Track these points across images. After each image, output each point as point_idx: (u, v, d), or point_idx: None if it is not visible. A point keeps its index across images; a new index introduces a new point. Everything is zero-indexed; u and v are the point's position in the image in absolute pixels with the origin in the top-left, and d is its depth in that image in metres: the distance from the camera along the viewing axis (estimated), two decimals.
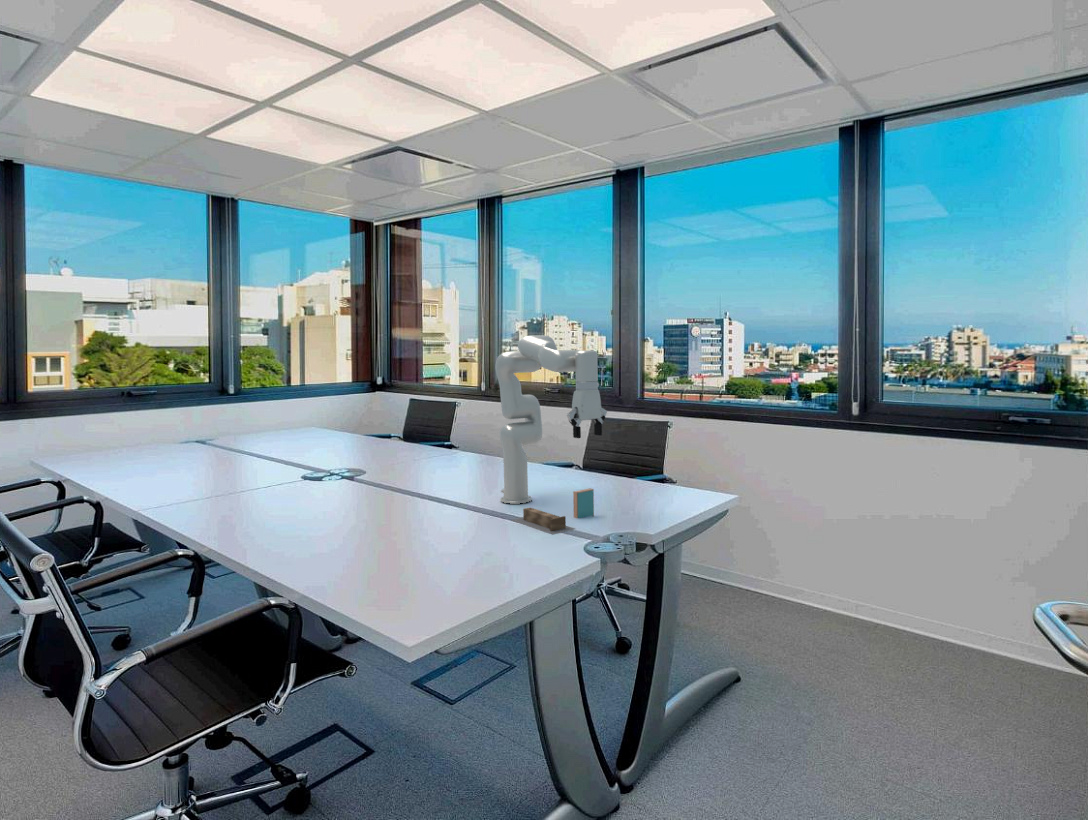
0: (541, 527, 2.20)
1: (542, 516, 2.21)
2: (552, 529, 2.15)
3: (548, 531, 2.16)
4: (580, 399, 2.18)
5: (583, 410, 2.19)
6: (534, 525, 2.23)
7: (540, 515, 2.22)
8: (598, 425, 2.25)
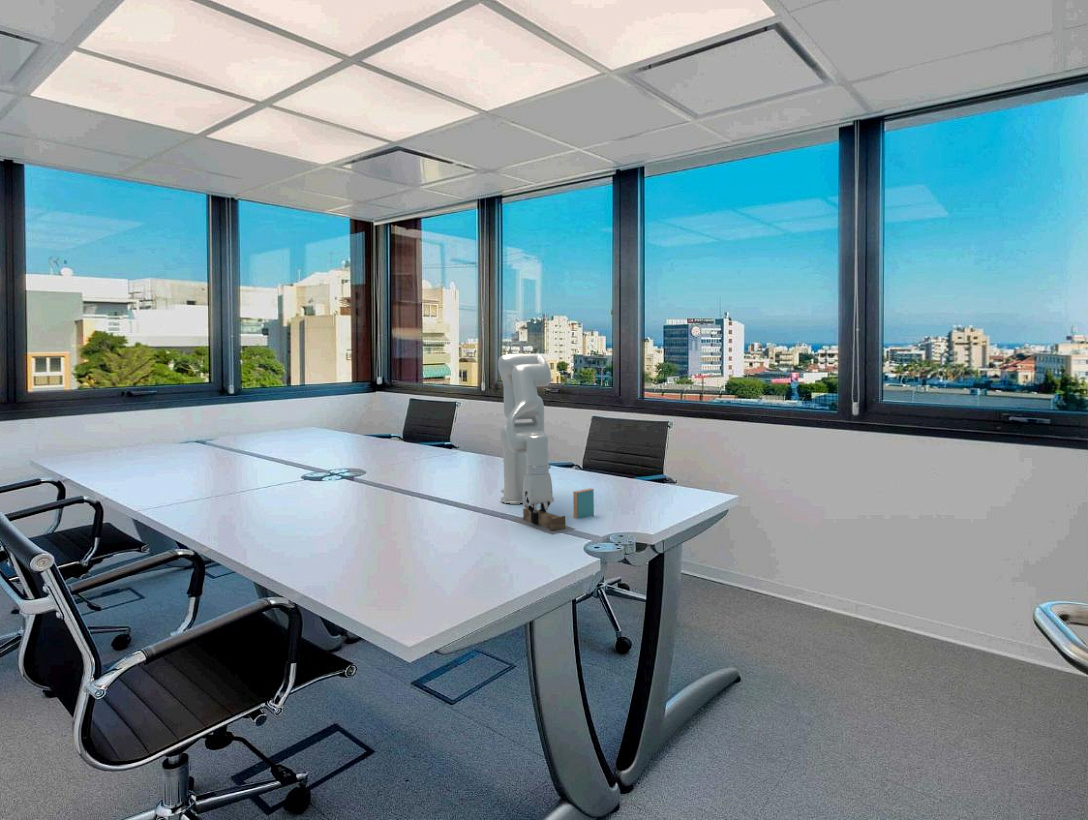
0: (541, 527, 2.20)
1: (542, 516, 2.21)
2: (552, 529, 2.15)
3: (548, 531, 2.16)
4: (530, 484, 2.20)
5: (533, 494, 2.20)
6: (534, 525, 2.23)
7: (540, 515, 2.22)
8: None
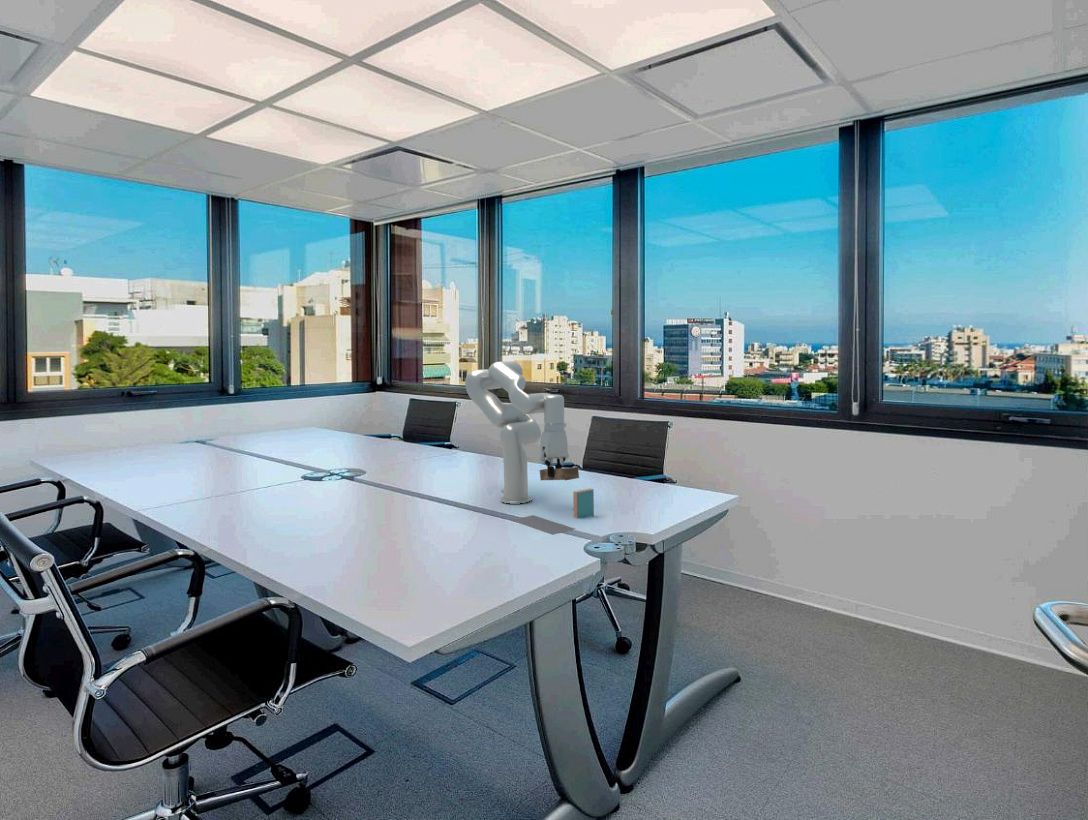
0: (541, 527, 2.20)
1: (557, 470, 2.41)
2: (567, 478, 2.35)
3: (548, 531, 2.16)
4: (547, 440, 2.40)
5: (550, 449, 2.40)
6: (534, 525, 2.23)
7: (555, 470, 2.42)
8: (558, 466, 2.45)
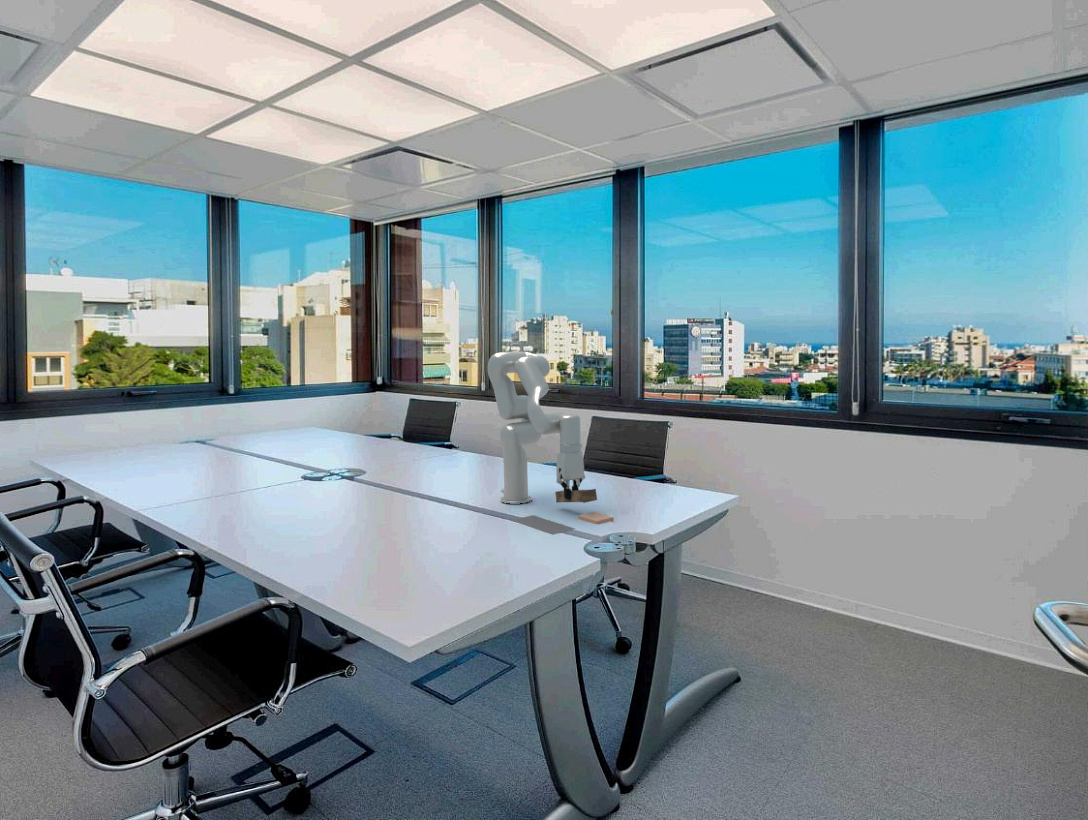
0: (541, 527, 2.20)
1: (574, 492, 2.35)
2: (585, 500, 2.29)
3: (548, 531, 2.16)
4: (564, 461, 2.34)
5: (566, 471, 2.34)
6: (534, 525, 2.23)
7: (572, 492, 2.36)
8: (575, 488, 2.39)
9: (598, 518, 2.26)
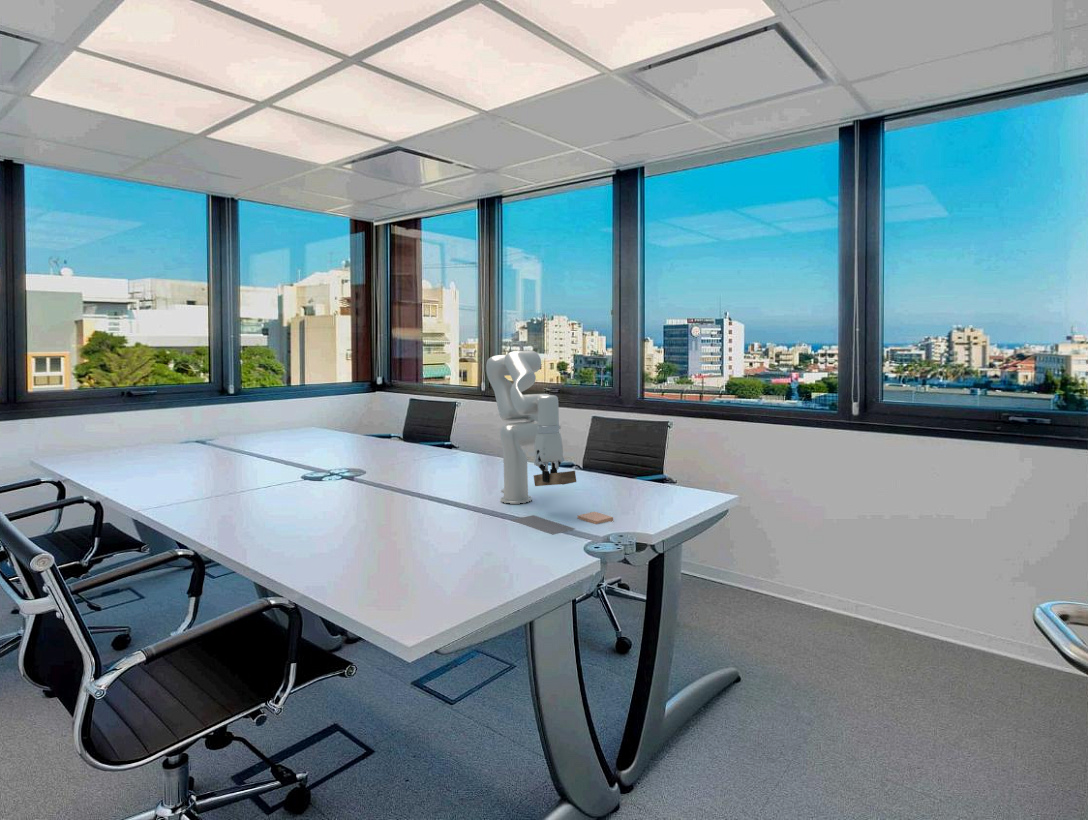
0: (541, 527, 2.20)
1: (552, 475, 2.29)
2: (564, 482, 2.23)
3: (548, 531, 2.16)
4: (542, 442, 2.27)
5: (545, 453, 2.28)
6: (534, 525, 2.23)
7: (550, 474, 2.30)
8: (554, 471, 2.33)
9: (598, 518, 2.26)
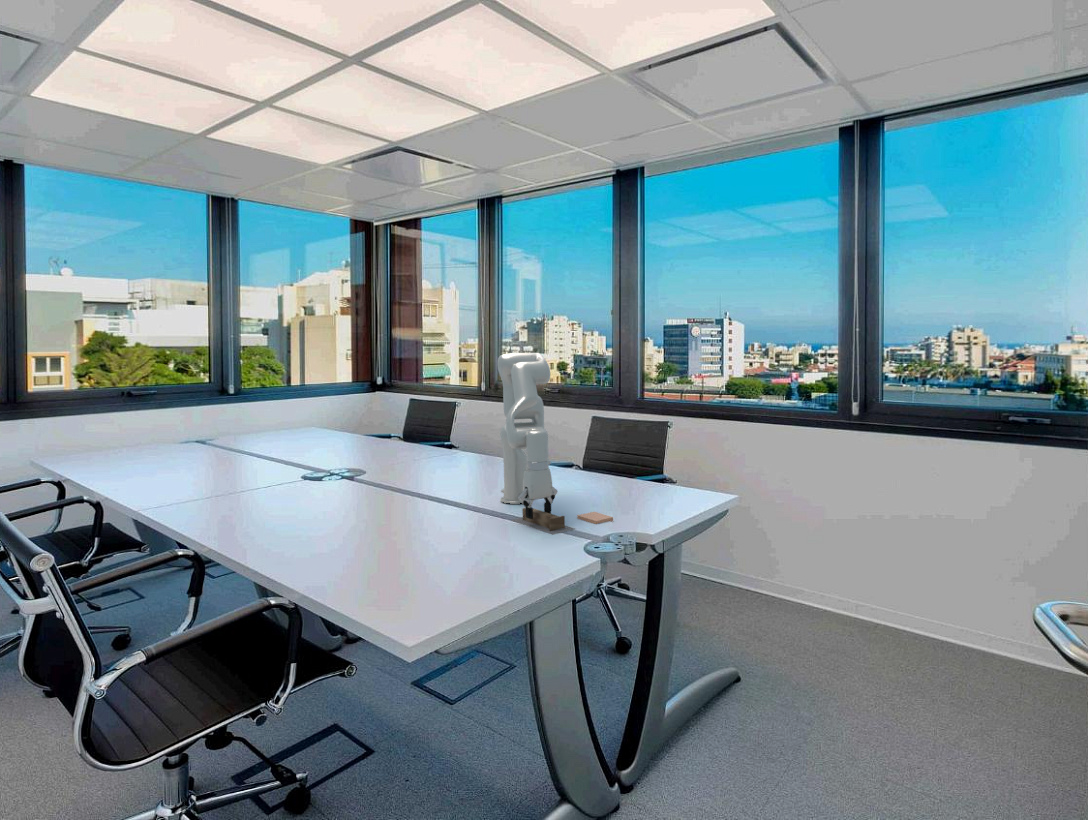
0: (541, 527, 2.20)
1: (541, 516, 2.21)
2: (551, 529, 2.16)
3: (548, 531, 2.16)
4: (530, 479, 2.20)
5: (533, 490, 2.20)
6: (534, 525, 2.23)
7: (539, 515, 2.22)
8: (547, 505, 2.26)
9: (597, 518, 2.26)
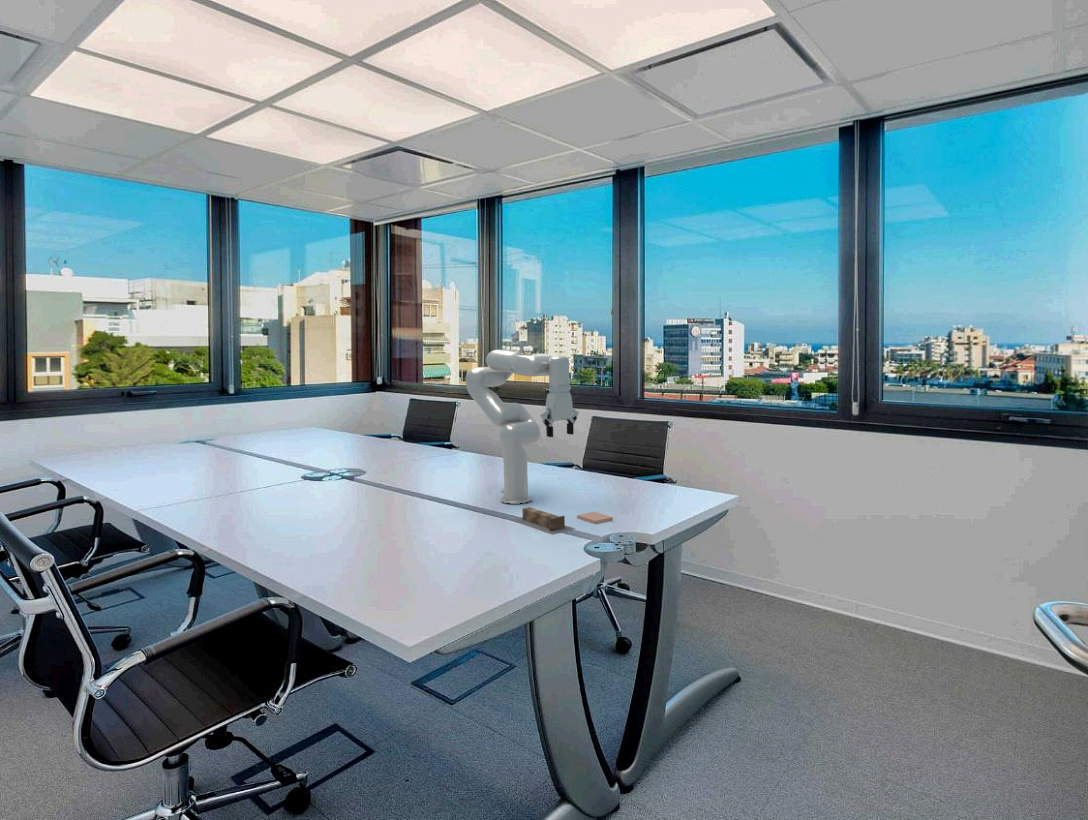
0: (541, 527, 2.20)
1: (541, 516, 2.21)
2: (551, 529, 2.16)
3: (548, 531, 2.16)
4: (553, 401, 2.38)
5: (555, 411, 2.38)
6: (534, 525, 2.23)
7: (539, 515, 2.22)
8: (570, 425, 2.45)
9: (597, 518, 2.26)
